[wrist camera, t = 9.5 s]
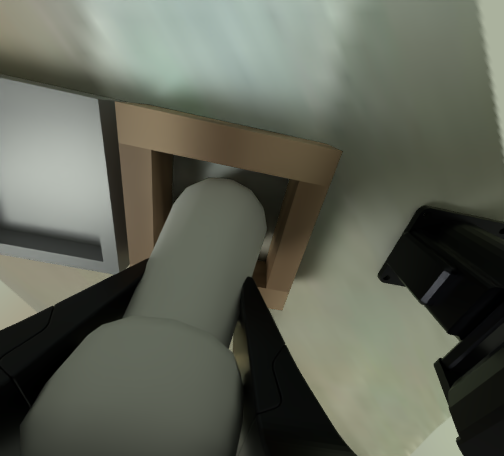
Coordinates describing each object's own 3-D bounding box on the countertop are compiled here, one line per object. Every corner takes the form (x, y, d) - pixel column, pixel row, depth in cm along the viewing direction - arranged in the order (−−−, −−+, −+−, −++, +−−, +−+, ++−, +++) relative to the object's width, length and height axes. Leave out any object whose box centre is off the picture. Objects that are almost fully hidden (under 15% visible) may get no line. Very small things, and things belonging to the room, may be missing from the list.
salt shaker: (230, 257, 17) (166, 543, 6) (169, 212, 16) (-91, 487, 4) (283, 207, 15) (350, 510, 4) (218, 149, 13) (-46, 361, 2)
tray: (127, 101, 12) (97, 99, 10) (137, 255, 17) (119, 275, 15) (-76, 57, 12) (-155, 43, 10) (-3, 229, 17) (-43, 246, 15)
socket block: (326, 143, 13) (342, 151, 10) (279, 281, 18) (282, 310, 16) (146, 104, 12) (114, 101, 10) (151, 258, 18) (131, 284, 15)
